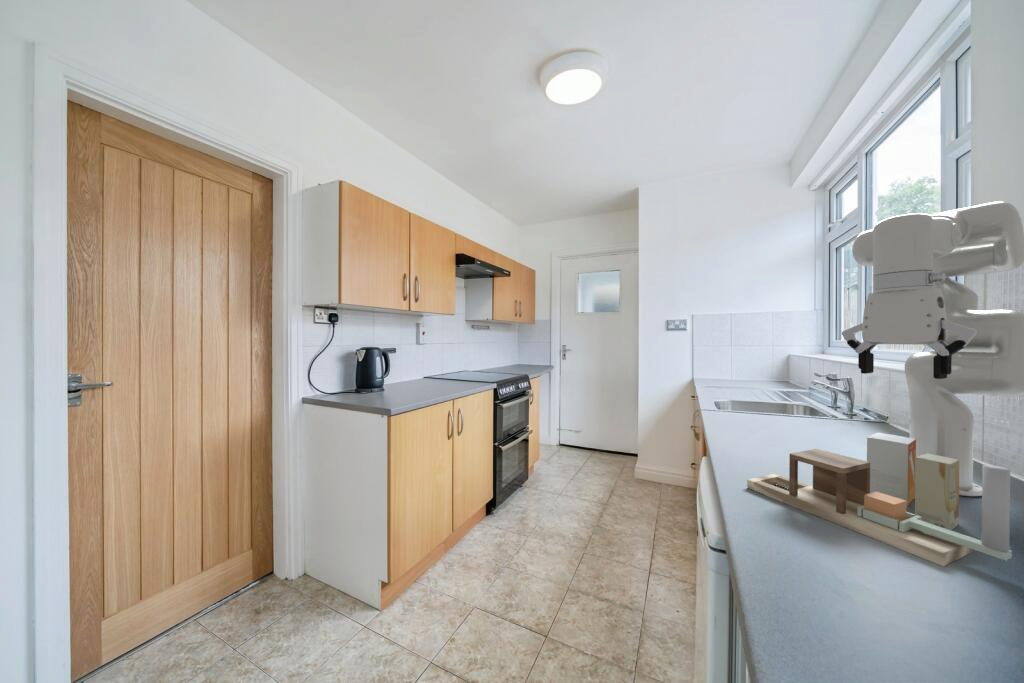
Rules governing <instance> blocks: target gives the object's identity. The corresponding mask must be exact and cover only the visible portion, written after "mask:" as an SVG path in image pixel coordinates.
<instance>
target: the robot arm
mask: <svg viewBox="0 0 1024 683" xmlns="http://www.w3.org/2000/svg"><path fill="white" fill-rule="evenodd" d="M852 257H853V258H854V260H855V262H856V263H857V264H858V265H860V266H862V267H872V293H871V292H870V293H868V295H867V296H866V297H867V298H866V302H865V304H864V305H865V306H864V310H863V317H862V323H860V324H857V325H854V326H852V327H850V328H848V329H845V330H843V331H841V335H842V337H843V338H844V340H845V341H846V343H847V345H848V346H849V347H850V348H851V349H853V350H854V351H855V353H857V354H858V356H857V357H858V361H857V362H858V363H857V364H858V366H857V367H858V369H859V370H860V374H864V375H865V374H866V375H867V374H872V373H874V366H875V365H874V364H875V363H874V356H875V355H874V353H873V352H871V351H872V350H873V349H874V348H875V347H877V345H914V346H915V345H917V346H918V345H923V347H925V348H927V349H929V350H933V351H921V352H917V353H914V354H911V355H909V356H908V357H907V359H906V360H905V363H904V374H905V378H906V382H907V387H908V394H909V395H908V397H909V438H915V439H916V457H918V456H920V455H924V454H933V455H938V456H943V457H948V458H953V459H958V460H959V496H962V497H982V485H979V484H976V483H974V480H973V479H974V477H973V476H974V423H975V422H974V420H975V419H974V415H973V412H972V410H971V408H970V407H969V406H967V404H966V403H964V402H963V401H962V400H961V399H960V398H959V397H958V396H956V395H958V394H959V395H971V396H972V395H973V396H974V395H975V396H986V397H999V398H1000V397H1001V398H1013V397H1015V398H1016V397H1020V396H1023V395H1024V313H1023V312H1021V311H1018V310H1012V309H991V310H990V309H989V310H988V309H987V310H978V304H979V295H978V294H977V293H976V292H975V291H974V290H973V289H971V288H970V287H968V286H967V285H965V284H963V283H961V282H959V281H957V280H954V279H952V278H951V277H961V276H972V275H982V274H993V273H1003V272H1010V271H1012V270H1015V269H1017V268H1019V267H1020V266H1022V264H1024V226H1023V220H1022V217H1021V215H1020V212H1019V211H1018V210H1017V208H1016V206H1014V204H1012V203H1010V202H1007V201H1001V200H999V201H993V202H987V203H983V204H978V205H973V206H968V207H963V208H956V209H952V210H947V211H943V212H937V213H933V214H928V213H924V212H923V213H921V212H917V213H916V212H915V213H907V214H906V213H905V214H901V215H896V216H891V217H888V218H885V219H882V220H880V221H879V222H877V223H876V224H875V225H874V227H873V229H869V230H865V231H862V232H860V233H859V235H857V236H856V238H855V239H854V241H853V245H852ZM859 333H861V337H862V340H863V341H862V342H861V341H859V340H857V337H856V336H855V335H856V334H859Z"/></svg>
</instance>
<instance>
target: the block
mask: <svg viewBox="0 0 1024 683" xmlns="http://www.w3.org/2000/svg"><path fill="white" fill-rule="evenodd" d="M907 507H908V506H907V501H906V500H903V499H899V498H896V497H893V496H890V495H886V494H883V493H880V492H873V493H869V494H866V495H864V509H867V510H870V511H873V512H876V513H879V514H882V515H884V516H887V517H890V518H893V519H896V520H899V523H900V521H903V520H906V512H907Z"/></svg>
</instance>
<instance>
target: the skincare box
mask: <svg viewBox="0 0 1024 683" xmlns="http://www.w3.org/2000/svg"><path fill="white" fill-rule="evenodd" d="M915 459H916V461H915V498H914V514H915V516H917V515H918V516H921V517H922V521H924V522H927V523H930V524H933V525H936V526H939V527H942V528H945V529H948V530H951V531H953V530H954V529H955V528H956V527H958V525H960V524H959V523H960V495H959V460H958V459H953V458H948V457H943V456H938V455H933V454H924V455H920V456H918V457H916V458H915Z"/></svg>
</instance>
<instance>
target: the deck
mask: <svg viewBox="0 0 1024 683" xmlns="http://www.w3.org/2000/svg"><path fill="white" fill-rule="evenodd" d="M746 481H747V482H746V486H747V487H748V488H750V489H749V490H751V489H752V490H751V491H753V490H755V491H754V492H756V491H757V492H756V493H758V492H760V493H759V494H761V493H762V494H761V495H763V494H764V495H763V496H766V497H769V498H771V499H774V500H776V501H779V502H780V503H784V504H786V505H788V506H791V507H793V508H796V509H799V510H801V511H804V512H806V513H808V514H811V515H814V516H817V517H818V518H821V519H824V520H826V521H829V522H831V523H834V524H836V525H839V526H841V527H844V528H846V529H849V530H851V531H853V532H857V533H858V534H862V535H864V536H866V537H869V538H871V539H874V540H876V541H879V542H880V543H881V542H882V543H884V544H886V545H889V546H891V547H895V548H896V549H899V550H901V551H904V552H906V553H909V554H912V555H914V556H916V557H920V558H921V559H924V560H926V561H929V562H932V563H934V564H937V565H939V566H942V567H945V566H948V565H949V564H951V563H953V562H955V561H957V560H959V559H962V558H964V557H966V556H967V555H970V554H971V553H974V549H971V548H969V547H966V546H963V545H960V544H957V543H954V542H951V541H949V540H946V539H943V538H940V537H937V536H934V535H931V534H929V533H926V532H923V531H920V530H917V529H914V528H913V529H911V530H908V531H905V532H902V531H899V529H898V530H896V529H893V528H891V527H888V526H885V525H882V524H880V523H877V522H874V521H871V520H869V519H866V518H863V516H862V517H861V516H858V515H857V513H858V507H860V506H863V505H860V504H857V503H854V502H851V501H848V500H846V513H845V514H841V513H838V512H836V496H834V495H831V494H828V493H825V492H822V491H819V490H816V489H813V485H811V484H808V483H805V482H802V481H799V480H798V496H793V495H790V494H789V490H788V489H789V477H787V476H784V475H781V474H778V473H772V474H766V475H762V476H758V477H753V478H749V479H748V478H747V480H746ZM776 484H777V485H780V486H783V487H786V488H788V489H785V488H782V487H780V486H777V485H776ZM773 485H776V486H773ZM748 488H747V489H748Z"/></svg>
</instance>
